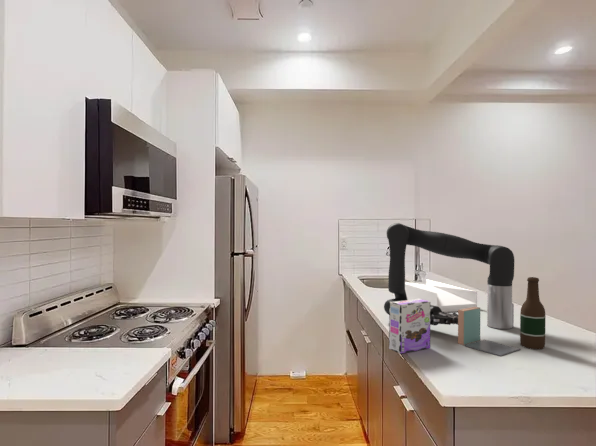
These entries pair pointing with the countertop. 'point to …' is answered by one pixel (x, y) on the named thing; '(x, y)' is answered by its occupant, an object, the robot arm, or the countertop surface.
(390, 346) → the candy box
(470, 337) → the tile
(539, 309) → the beer bottle
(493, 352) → the slate mat
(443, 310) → the building model
